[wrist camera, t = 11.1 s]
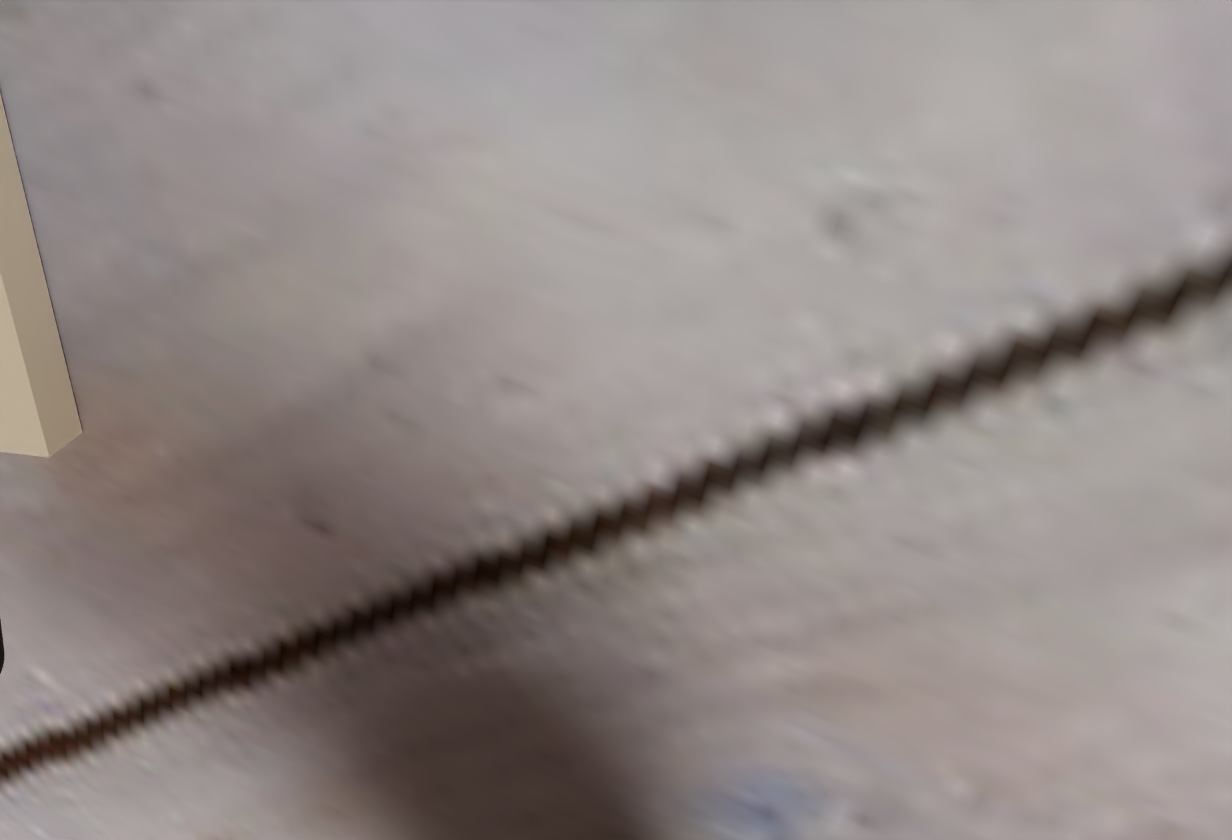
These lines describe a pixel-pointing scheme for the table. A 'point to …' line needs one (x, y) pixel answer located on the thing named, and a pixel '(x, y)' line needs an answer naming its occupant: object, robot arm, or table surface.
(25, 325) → the tray
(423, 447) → the table surface
